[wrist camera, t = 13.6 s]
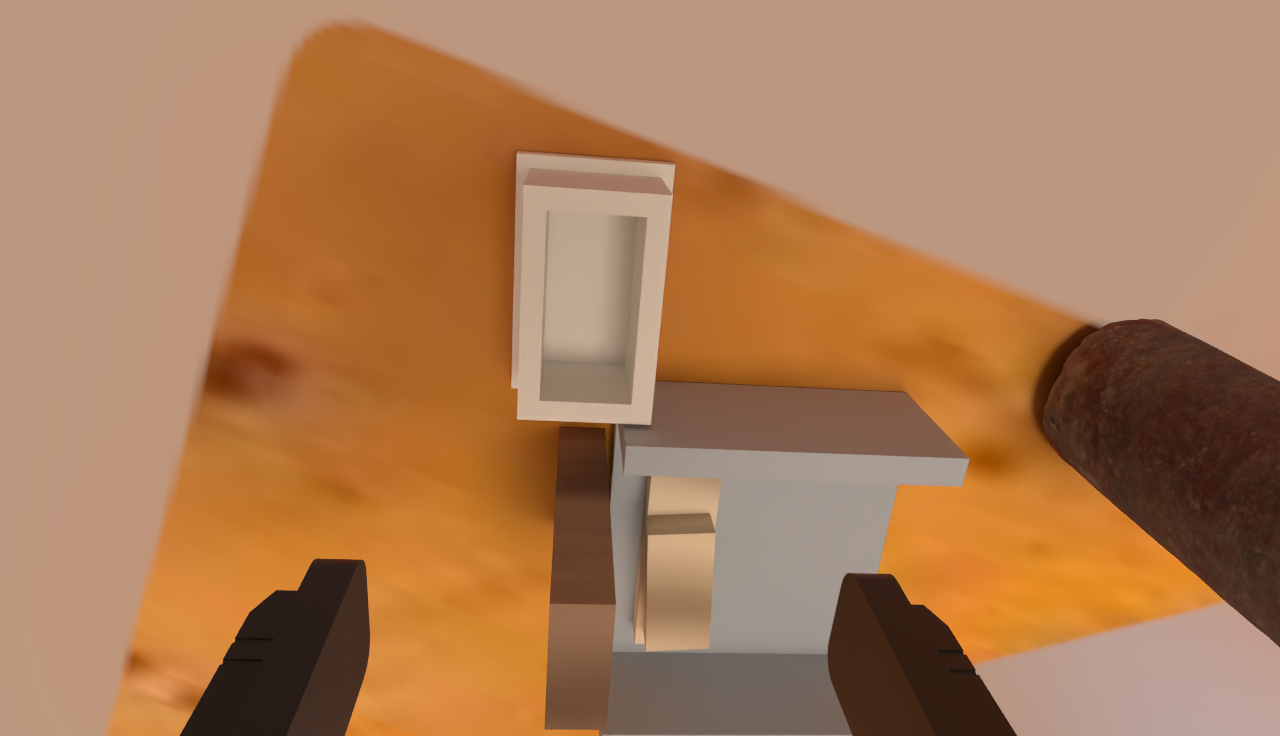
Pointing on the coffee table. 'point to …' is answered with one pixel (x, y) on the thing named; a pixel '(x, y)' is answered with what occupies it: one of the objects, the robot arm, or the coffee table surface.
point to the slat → (581, 586)
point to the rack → (763, 546)
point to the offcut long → (665, 500)
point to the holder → (588, 285)
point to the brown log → (1180, 452)
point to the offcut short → (678, 581)
